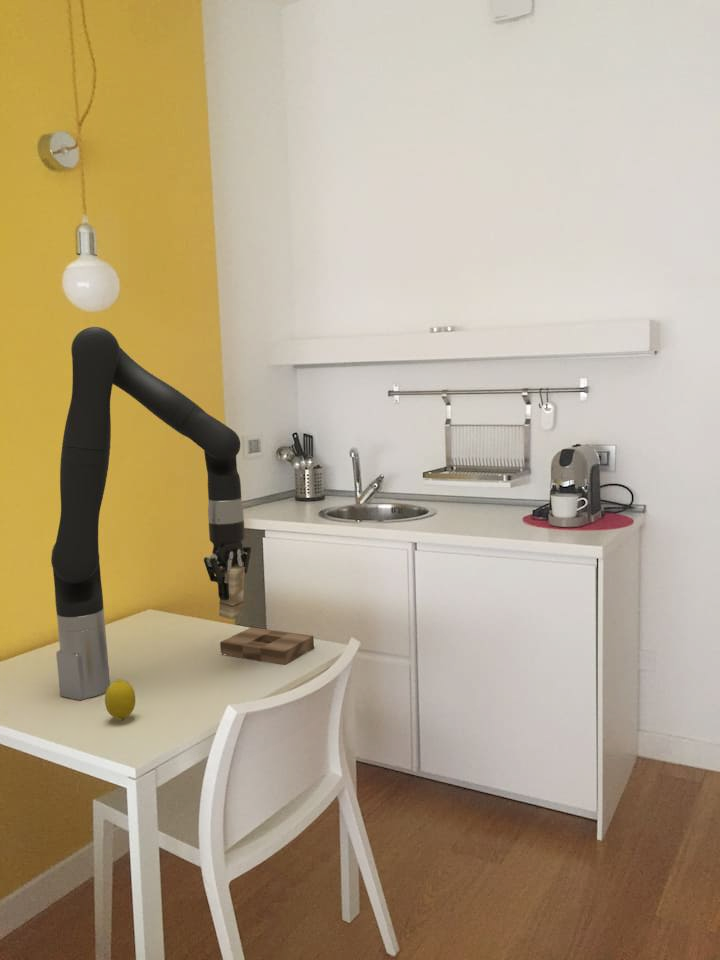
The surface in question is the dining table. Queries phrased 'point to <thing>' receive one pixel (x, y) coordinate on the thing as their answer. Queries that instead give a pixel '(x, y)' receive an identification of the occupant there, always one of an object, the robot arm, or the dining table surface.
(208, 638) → the dining table surface
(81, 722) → the dining table surface
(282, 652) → the walnut board
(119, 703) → the lemon
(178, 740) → the dining table surface
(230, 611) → the beech peg
